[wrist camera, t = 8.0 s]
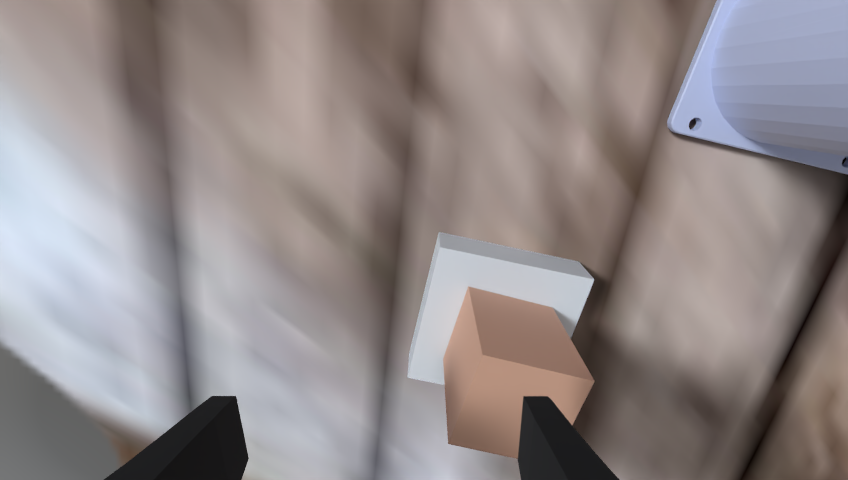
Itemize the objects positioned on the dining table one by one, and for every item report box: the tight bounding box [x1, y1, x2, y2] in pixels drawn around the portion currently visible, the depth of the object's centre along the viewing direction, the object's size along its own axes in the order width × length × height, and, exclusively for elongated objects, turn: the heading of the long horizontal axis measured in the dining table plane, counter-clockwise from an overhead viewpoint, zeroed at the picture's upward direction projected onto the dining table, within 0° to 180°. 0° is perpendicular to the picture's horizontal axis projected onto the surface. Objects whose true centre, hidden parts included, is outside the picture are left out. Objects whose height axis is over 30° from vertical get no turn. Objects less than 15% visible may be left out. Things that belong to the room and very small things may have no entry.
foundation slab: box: [407, 232, 594, 385], centre depth 20 cm, size 7×7×2 cm
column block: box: [443, 286, 595, 459], centre depth 17 cm, size 4×4×5 cm
